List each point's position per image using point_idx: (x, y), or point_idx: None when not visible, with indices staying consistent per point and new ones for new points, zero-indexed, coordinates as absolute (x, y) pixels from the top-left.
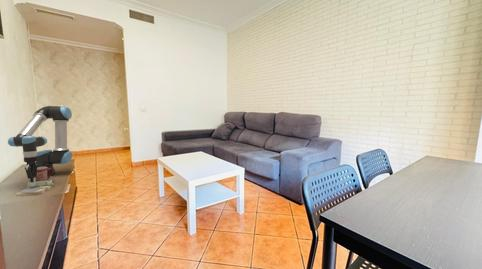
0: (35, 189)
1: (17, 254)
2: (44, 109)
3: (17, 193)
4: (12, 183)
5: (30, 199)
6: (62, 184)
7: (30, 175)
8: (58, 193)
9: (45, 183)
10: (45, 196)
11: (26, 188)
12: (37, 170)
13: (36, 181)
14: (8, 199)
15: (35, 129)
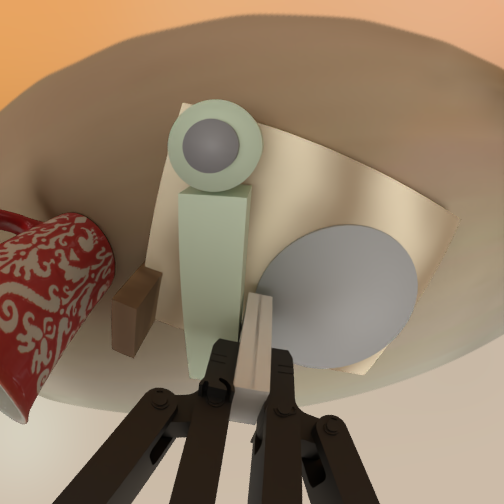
0: (364, 267)
1: None
2: None
3: (369, 367)
4: (76, 388)
5: (491, 252)
6: (172, 36)
7: (358, 472)
8: (472, 67)
9: (248, 190)
10: (495, 161)
11: (273, 347)
12: (18, 396)
13: (183, 316)
14: (399, 371)
15: None
